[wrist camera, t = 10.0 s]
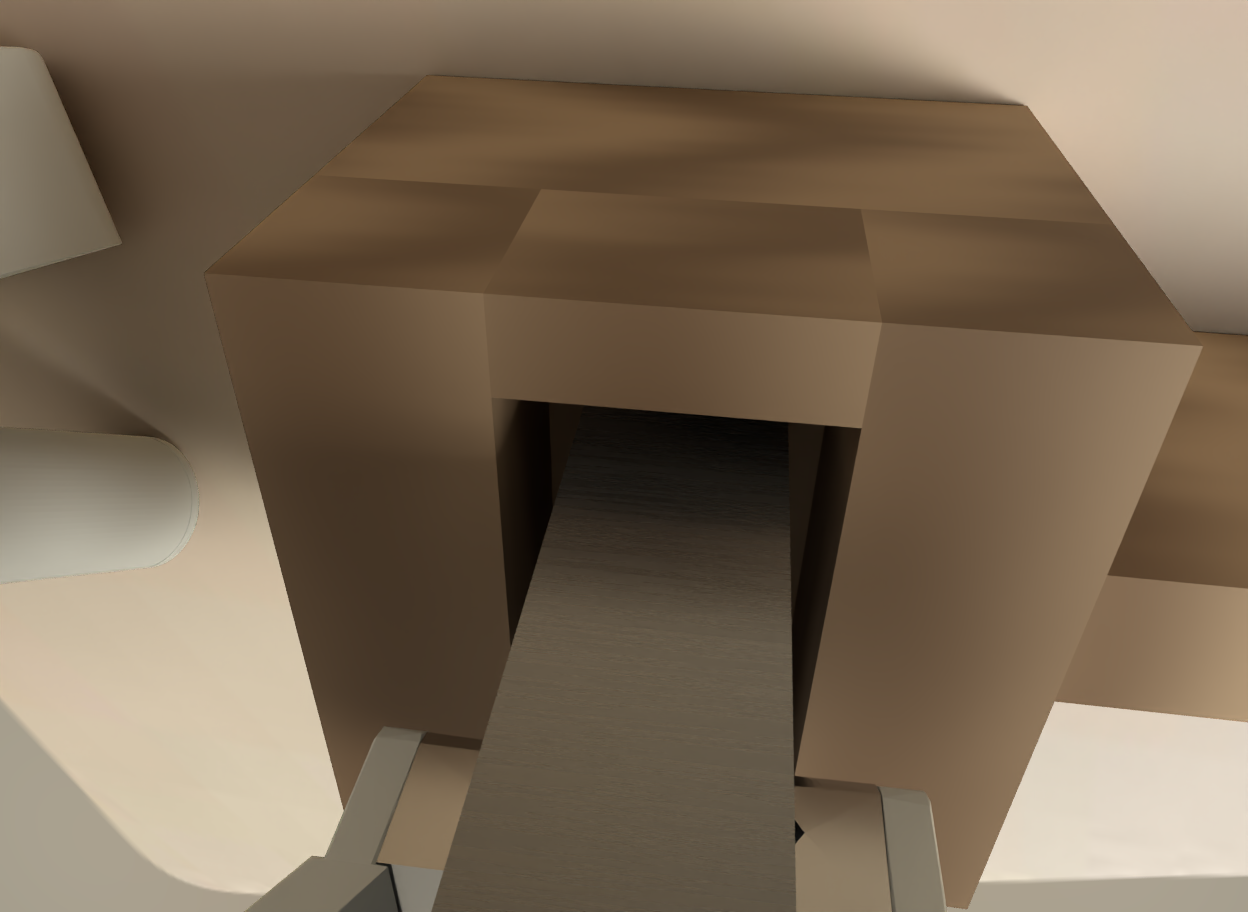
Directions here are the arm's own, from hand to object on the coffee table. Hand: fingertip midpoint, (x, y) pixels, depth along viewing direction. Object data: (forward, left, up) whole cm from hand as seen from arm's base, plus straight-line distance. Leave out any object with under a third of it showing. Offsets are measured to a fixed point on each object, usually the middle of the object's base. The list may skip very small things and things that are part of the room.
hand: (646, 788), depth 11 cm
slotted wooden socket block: (-7, 0, -10) cm, 12 cm away
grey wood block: (0, 0, -5) cm, 5 cm away
